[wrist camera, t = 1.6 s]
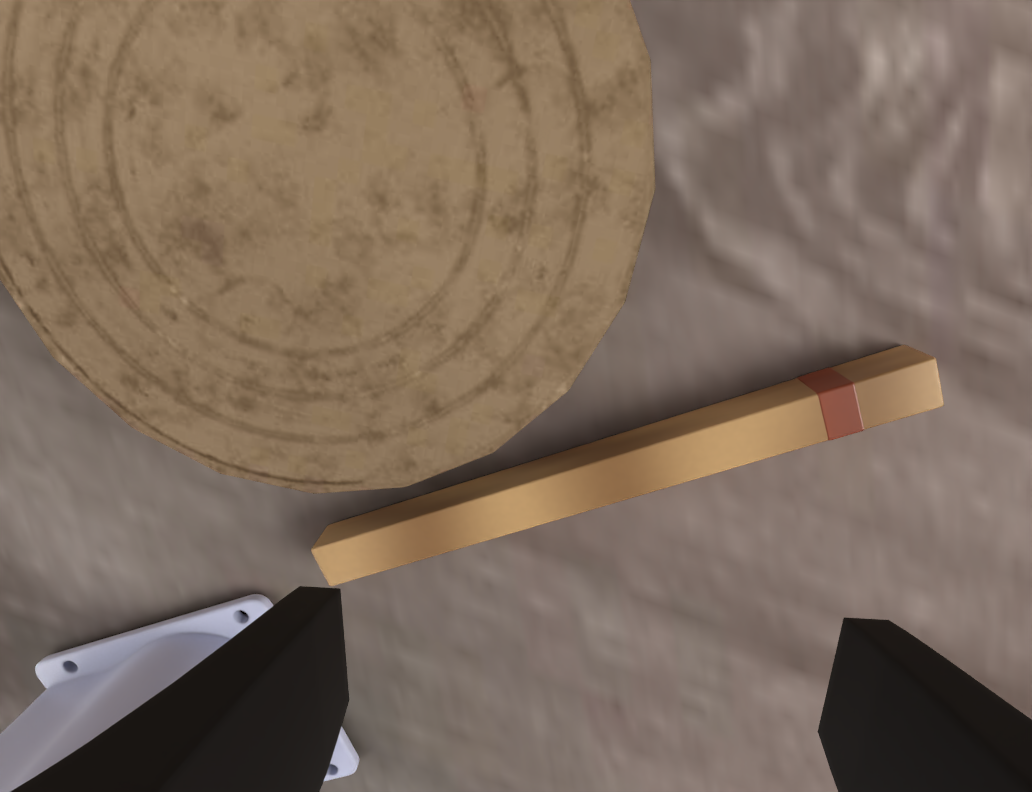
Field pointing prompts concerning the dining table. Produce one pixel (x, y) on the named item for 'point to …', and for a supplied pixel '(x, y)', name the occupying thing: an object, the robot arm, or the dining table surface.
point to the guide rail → (635, 462)
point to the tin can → (323, 218)
